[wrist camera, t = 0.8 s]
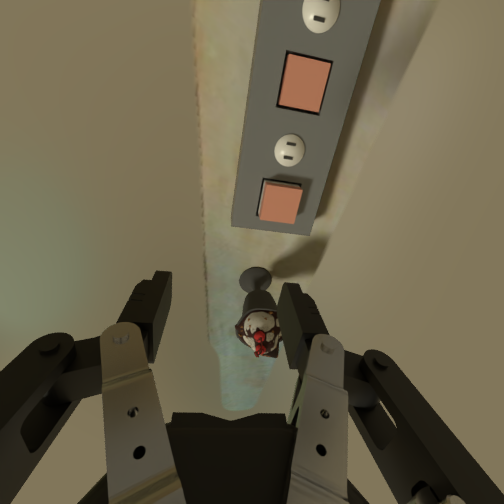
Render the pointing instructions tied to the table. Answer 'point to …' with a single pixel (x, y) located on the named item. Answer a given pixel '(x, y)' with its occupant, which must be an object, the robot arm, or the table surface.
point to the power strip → (294, 120)
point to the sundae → (259, 314)
